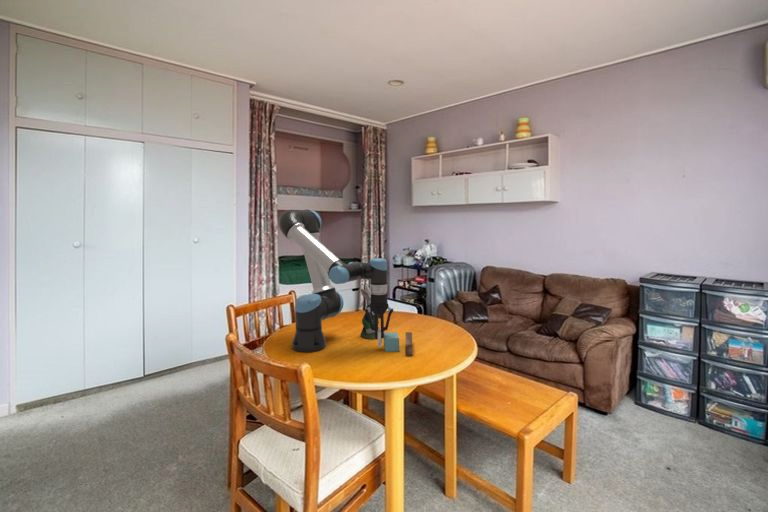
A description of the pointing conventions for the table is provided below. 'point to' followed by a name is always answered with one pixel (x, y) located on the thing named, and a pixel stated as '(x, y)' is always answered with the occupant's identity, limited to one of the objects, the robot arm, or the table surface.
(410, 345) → the board
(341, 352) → the table surface
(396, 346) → the block
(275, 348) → the table surface
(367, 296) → the figurine
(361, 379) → the table surface
